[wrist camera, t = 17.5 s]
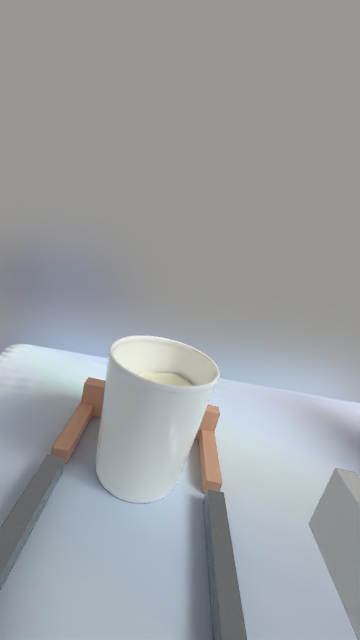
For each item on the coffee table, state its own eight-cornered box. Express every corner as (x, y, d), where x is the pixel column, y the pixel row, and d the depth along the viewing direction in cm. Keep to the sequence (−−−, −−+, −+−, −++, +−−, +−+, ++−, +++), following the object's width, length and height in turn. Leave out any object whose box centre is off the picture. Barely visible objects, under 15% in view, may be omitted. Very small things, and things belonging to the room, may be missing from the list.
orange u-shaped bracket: (209, 434, 36) (218, 407, 35) (217, 495, 27) (229, 462, 26) (83, 406, 35) (88, 377, 34) (50, 460, 26) (56, 424, 25)
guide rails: (219, 505, 26) (223, 492, 26) (278, 947, 10) (293, 932, 9) (45, 468, 25) (47, 454, 25) (-209, 886, 9) (-215, 865, 9)
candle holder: (73, 443, 29) (93, 334, 26) (156, 425, 35) (179, 335, 32) (108, 532, 22) (141, 394, 18) (205, 490, 27) (243, 381, 24)
